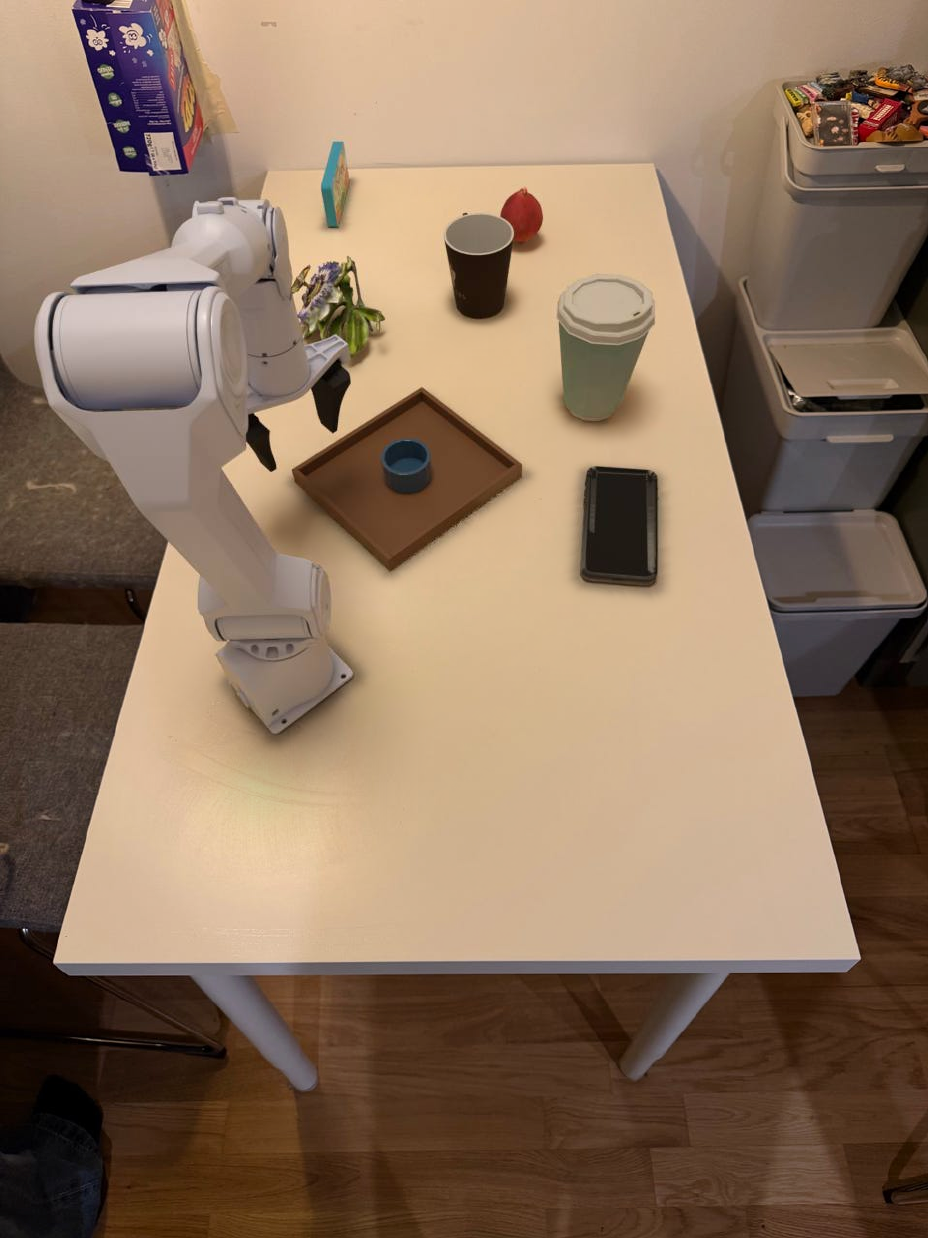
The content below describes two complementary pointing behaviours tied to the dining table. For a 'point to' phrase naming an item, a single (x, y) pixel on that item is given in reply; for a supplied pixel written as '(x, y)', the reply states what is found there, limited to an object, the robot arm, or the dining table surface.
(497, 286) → the coffee mug
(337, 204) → the teal picture box
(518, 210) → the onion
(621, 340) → the disposable coffee cup
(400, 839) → the dining table surface
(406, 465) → the dish
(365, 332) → the passion flower
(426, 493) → the tray
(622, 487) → the phone
